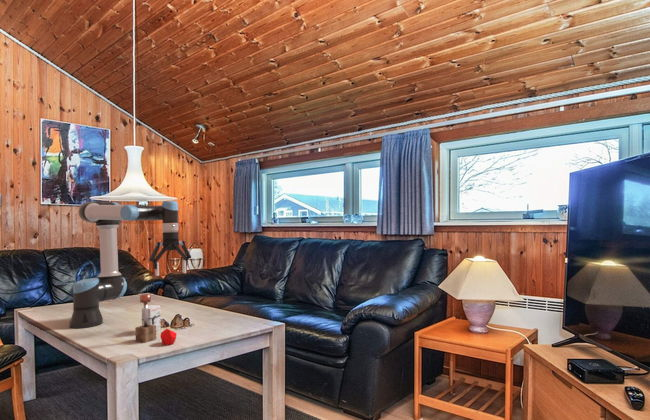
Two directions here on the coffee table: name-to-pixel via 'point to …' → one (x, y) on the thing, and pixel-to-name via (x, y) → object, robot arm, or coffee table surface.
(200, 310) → the coffee table surface
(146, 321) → the awl
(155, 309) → the ink box
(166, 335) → the apple
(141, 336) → the awl socket
